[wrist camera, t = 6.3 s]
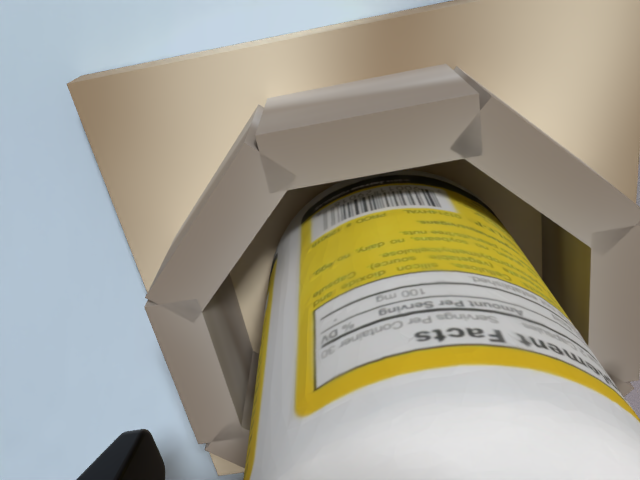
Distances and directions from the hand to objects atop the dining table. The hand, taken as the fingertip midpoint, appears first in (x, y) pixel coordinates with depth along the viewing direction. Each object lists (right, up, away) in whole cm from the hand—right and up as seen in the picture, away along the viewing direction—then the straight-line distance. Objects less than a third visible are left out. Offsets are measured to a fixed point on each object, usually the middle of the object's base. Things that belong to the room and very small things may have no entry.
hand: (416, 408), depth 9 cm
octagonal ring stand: (0, +2, +4) cm, 5 cm away
